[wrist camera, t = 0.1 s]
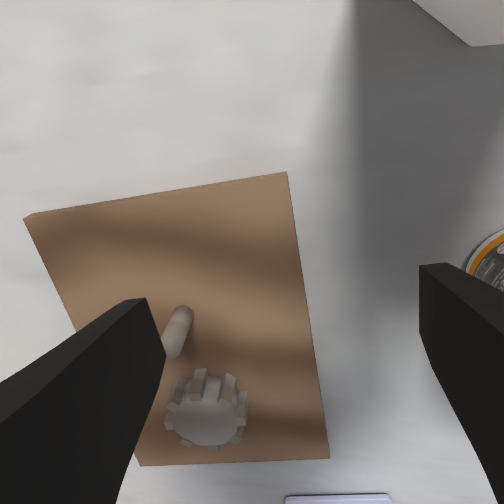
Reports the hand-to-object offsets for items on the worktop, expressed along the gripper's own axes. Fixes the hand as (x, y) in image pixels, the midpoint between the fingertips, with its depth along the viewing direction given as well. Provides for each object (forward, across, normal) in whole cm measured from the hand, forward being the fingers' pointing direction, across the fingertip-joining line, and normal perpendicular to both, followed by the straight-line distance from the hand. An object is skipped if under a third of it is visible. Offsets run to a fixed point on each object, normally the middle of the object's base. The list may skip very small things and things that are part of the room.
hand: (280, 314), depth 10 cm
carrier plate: (+10, +7, +9) cm, 15 cm away
